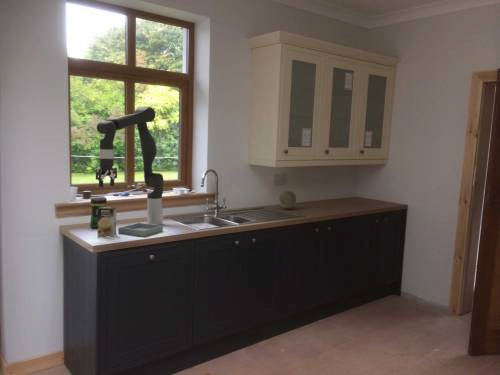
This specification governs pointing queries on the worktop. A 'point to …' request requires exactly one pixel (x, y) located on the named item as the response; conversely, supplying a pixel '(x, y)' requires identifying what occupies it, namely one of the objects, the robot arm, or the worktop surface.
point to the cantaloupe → (287, 199)
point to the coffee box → (107, 221)
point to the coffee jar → (96, 209)
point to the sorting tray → (140, 229)
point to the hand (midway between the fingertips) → (106, 186)
